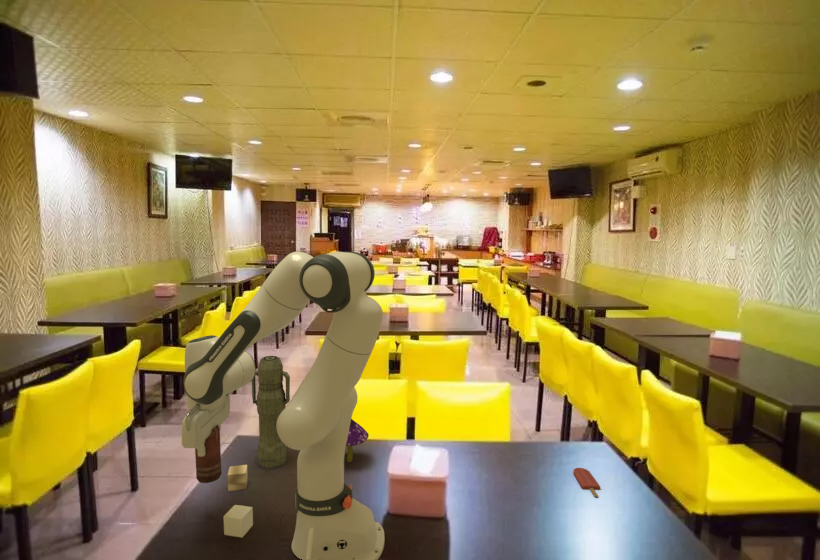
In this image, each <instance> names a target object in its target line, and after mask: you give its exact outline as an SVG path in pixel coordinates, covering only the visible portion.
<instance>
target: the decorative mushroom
mask: <svg viewBox="0 0 820 560" xmlns="http://www.w3.org/2000/svg"><path fill="white" fill-rule="evenodd" d="M369 437H370V436H369V433H368V432H367V430H366V429H365V428H364V427H363V426H361V425H360V424H359V423H358V422H356V421H355V420H354V419H353V418H351V422H350V428H349V433H348V438H347V443H346V448H347V458H346V462H347V463H351V462H353V455H354V454H353V451H354V450H353V447H354V446H359V445H361V444H363V443H364V442H366V441H367V440H368V438H369Z"/></svg>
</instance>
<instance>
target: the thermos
mask: <svg viewBox="0 0 820 560" xmlns="http://www.w3.org/2000/svg"><path fill="white" fill-rule="evenodd" d="M256 376H257V380H258V381H257V382H258V388H257V387H256ZM284 378H285V389H284V384H283V381H284ZM290 382H291V376H290V374H289V373H288V372H287V371H284V365H283V363H282V361H281V358H280V357H279V356H276V355H268V356H267V355H266V356H263V357H262V358H260V360H259V363H258V366H257V370H256V371H255V376H254V378H253V380H252V381H251V394H252V395H251V396H252V397H251V398H252V399H251V400H252V404H254V405H255V406H256V411H257V414H258V432H259V433H258V436H259V437H258V438H259V443H258V447H257V457H258V466H259V467H260V466H261V467H260V468H263V469H267V470H271V469H277V468H281V467H282V466H284V465H285V464H286V463H287V453H288V452H287V451H288V450H287V446H286V445H285V444H284V443H283V442H282V441H281V439H280V437H279V435H278V433H277V427H276V425H277V419H278V417H279V415H280V414H281V412H282V411H283V410H284V409H285V407H286V406H287V405H288V404H289V402H290V401H291V398H290V397H291V395H290V391H291V390H290V389H291V385H290V384H291V383H290ZM256 389H258V390H257V391H256Z"/></svg>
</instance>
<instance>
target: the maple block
mask: <svg viewBox="0 0 820 560" xmlns="http://www.w3.org/2000/svg"><path fill="white" fill-rule="evenodd" d="M248 472H249V470H248V464H242V465H241V464H240V465H231V466H229V468H228V473H227V491H228V492H232V491H239V490H240V491H241V490H246V489H247V486H248V481H249V479H248V478H249V477H248V476H249V475H248V474H249V473H248Z"/></svg>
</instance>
